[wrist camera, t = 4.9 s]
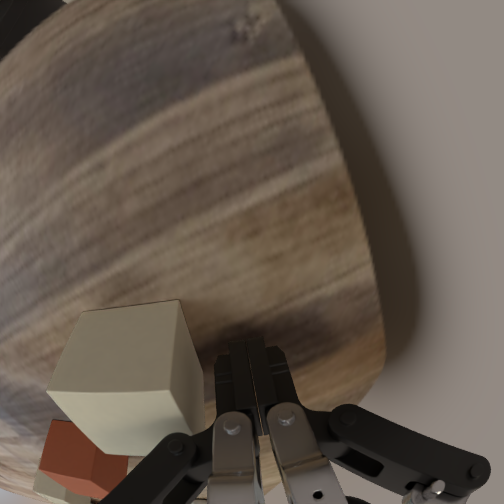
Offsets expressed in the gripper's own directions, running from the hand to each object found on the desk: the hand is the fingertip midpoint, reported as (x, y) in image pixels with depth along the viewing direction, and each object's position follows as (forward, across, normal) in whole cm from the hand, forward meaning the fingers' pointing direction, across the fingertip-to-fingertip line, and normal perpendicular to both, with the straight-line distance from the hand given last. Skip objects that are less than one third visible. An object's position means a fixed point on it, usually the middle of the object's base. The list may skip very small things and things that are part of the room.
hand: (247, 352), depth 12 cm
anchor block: (+1, +14, +10) cm, 17 cm away
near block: (+1, +5, 0) cm, 5 cm away
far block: (+1, +24, +20) cm, 31 cm away
